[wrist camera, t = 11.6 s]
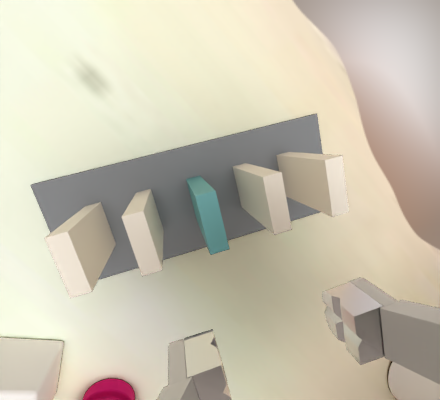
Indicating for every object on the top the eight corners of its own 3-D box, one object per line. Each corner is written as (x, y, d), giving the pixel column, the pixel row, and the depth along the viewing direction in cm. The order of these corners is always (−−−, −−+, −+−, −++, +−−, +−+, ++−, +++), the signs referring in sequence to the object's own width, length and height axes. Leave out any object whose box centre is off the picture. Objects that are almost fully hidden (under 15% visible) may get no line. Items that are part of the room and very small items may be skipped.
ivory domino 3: (245, 163, 31) (281, 172, 21) (254, 203, 32) (291, 229, 22) (232, 166, 31) (262, 177, 21) (241, 207, 32) (274, 235, 22)
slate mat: (315, 114, 32) (317, 113, 31) (328, 208, 35) (330, 209, 34) (32, 184, 27) (30, 184, 27) (75, 285, 30) (73, 287, 30)
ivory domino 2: (150, 188, 29) (143, 211, 20) (163, 230, 31) (162, 270, 21) (136, 192, 29) (121, 216, 20) (149, 234, 30) (142, 276, 21)
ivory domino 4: (288, 151, 32) (342, 155, 22) (295, 191, 33) (349, 211, 23) (276, 155, 31) (324, 160, 22) (283, 195, 33) (332, 217, 23)
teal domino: (199, 175, 30) (215, 190, 20) (210, 216, 31) (229, 249, 22) (185, 179, 30) (195, 196, 20) (196, 220, 31) (210, 254, 22)
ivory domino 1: (100, 202, 29) (67, 231, 19) (115, 244, 30) (92, 291, 20) (85, 206, 28) (44, 238, 19) (101, 248, 30) (70, 298, 20)
